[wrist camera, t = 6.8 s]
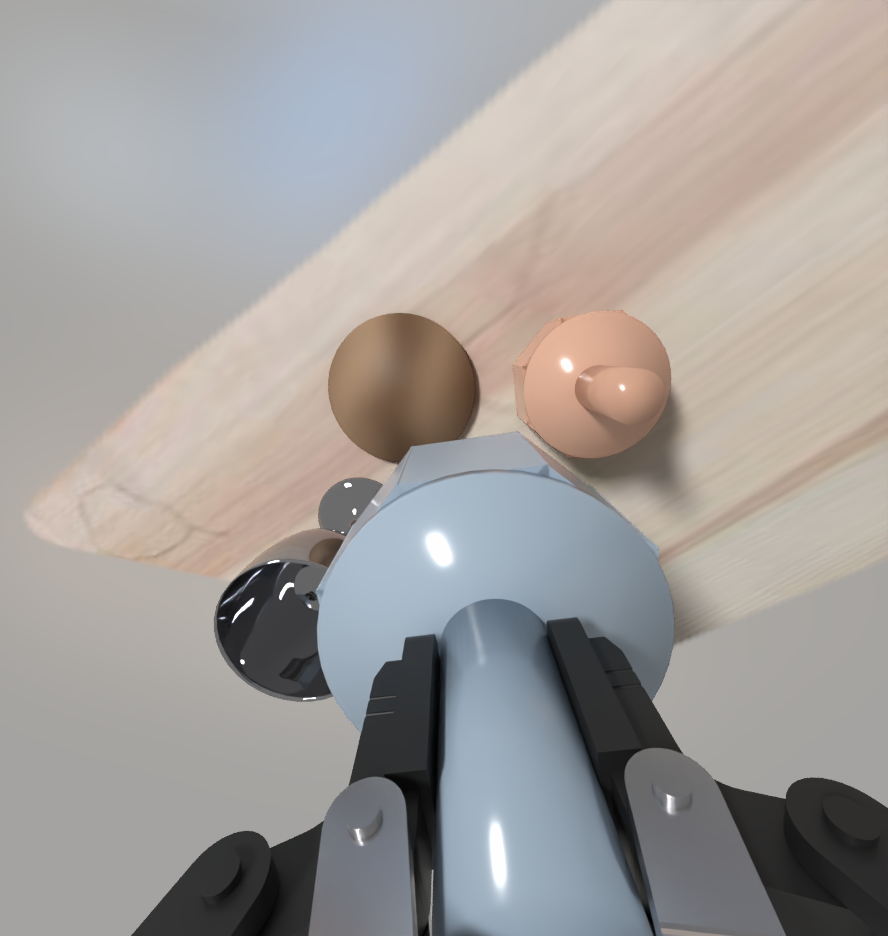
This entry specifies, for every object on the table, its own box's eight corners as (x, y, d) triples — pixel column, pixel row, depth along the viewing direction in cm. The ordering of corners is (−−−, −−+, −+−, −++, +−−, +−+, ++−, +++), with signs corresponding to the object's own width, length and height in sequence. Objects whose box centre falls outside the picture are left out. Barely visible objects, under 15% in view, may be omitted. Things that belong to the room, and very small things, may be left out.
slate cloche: (597, 417, 14) (1024, 600, 4) (608, 644, 17) (891, 1158, 6) (335, 454, 15) (41, 712, 4) (382, 671, 17) (272, 1192, 7)
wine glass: (388, 575, 36) (343, 722, 22) (300, 541, 36) (195, 669, 21) (423, 495, 34) (399, 599, 20) (331, 457, 34) (238, 536, 19)
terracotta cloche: (636, 309, 30) (737, 285, 19) (637, 435, 33) (726, 475, 22) (508, 326, 31) (537, 312, 20) (518, 448, 33) (548, 494, 22)
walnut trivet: (466, 304, 30) (466, 303, 30) (481, 451, 33) (481, 453, 33) (317, 324, 31) (314, 323, 30) (345, 467, 34) (343, 469, 33)
